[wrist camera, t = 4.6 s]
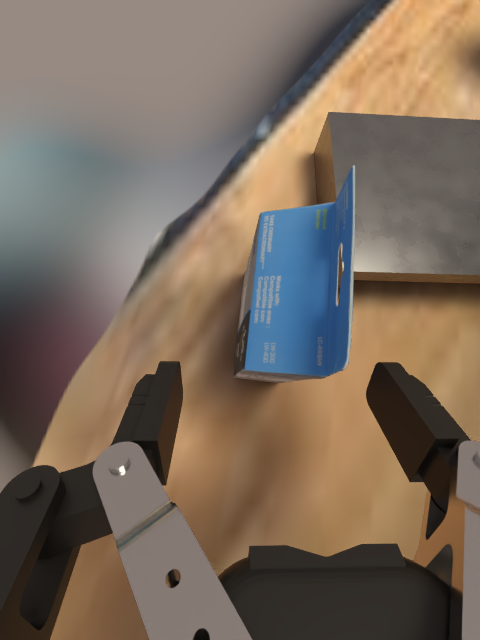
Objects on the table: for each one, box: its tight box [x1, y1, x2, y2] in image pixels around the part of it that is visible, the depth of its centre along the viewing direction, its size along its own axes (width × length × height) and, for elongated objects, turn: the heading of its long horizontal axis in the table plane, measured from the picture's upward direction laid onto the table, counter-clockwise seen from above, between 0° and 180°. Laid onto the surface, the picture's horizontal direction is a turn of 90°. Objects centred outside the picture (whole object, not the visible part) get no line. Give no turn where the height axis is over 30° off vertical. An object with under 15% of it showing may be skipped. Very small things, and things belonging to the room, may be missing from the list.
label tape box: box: [233, 165, 355, 383], centre depth 16 cm, size 9×4×12 cm, turn 173°
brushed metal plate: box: [314, 112, 480, 292], centre depth 23 cm, size 18×14×4 cm
